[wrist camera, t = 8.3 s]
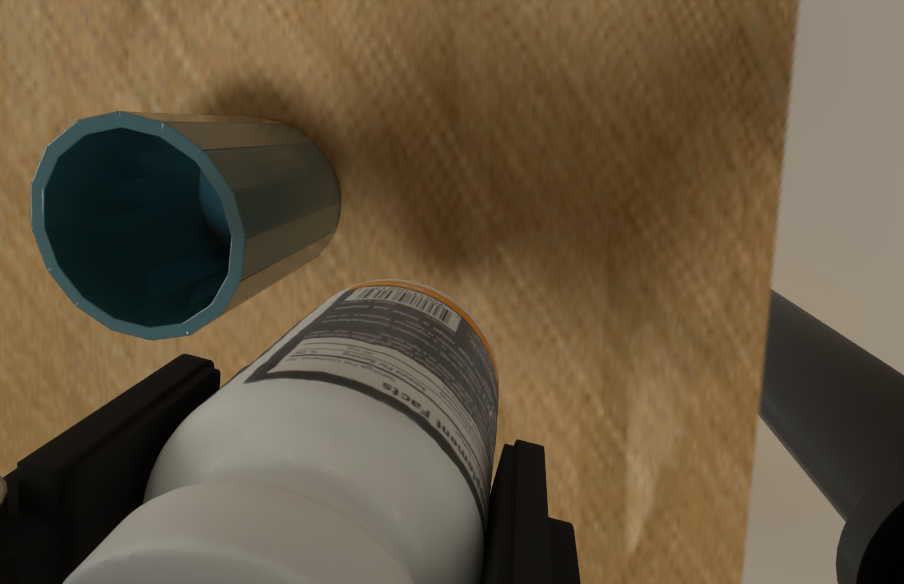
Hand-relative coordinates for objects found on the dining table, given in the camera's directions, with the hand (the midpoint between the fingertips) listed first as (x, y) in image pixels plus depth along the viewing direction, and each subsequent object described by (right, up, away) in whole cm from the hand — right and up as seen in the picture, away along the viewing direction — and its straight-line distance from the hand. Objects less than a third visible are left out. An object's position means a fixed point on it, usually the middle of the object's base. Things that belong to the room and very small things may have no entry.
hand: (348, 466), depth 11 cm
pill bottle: (+1, +1, +5) cm, 5 cm away
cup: (-7, +8, +17) cm, 20 cm away
